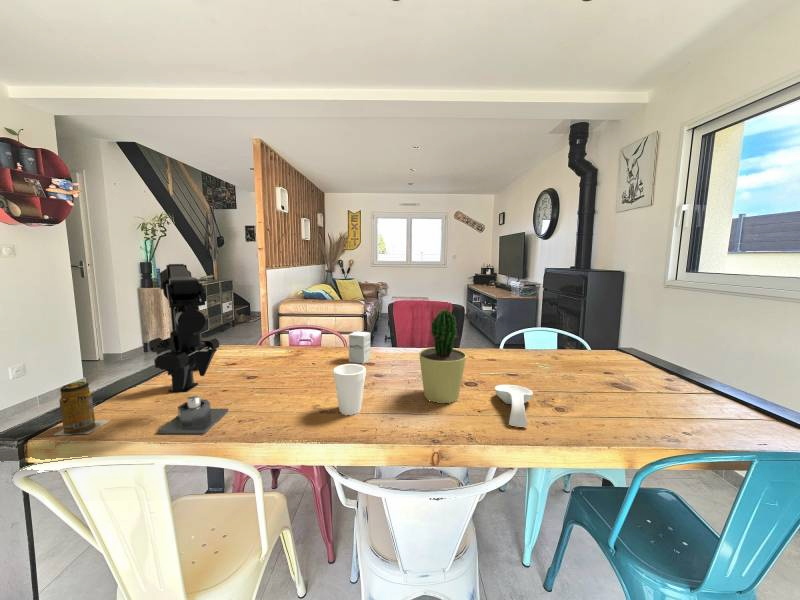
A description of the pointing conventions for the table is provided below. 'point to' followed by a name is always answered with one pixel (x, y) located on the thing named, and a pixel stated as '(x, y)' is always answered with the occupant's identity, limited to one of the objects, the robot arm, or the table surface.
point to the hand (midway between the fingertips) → (192, 382)
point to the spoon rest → (515, 402)
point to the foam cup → (349, 387)
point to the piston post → (199, 428)
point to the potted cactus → (442, 361)
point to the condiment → (77, 410)
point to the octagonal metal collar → (194, 413)
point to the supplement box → (359, 347)
